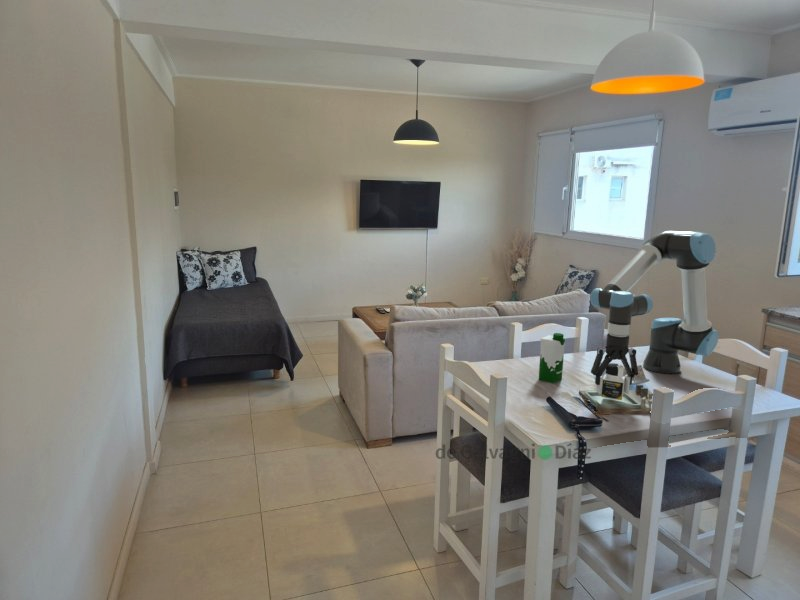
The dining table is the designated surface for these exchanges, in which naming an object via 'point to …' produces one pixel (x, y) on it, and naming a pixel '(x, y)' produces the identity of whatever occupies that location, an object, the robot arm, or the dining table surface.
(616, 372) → the medicine bottle
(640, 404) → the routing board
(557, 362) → the milk carton
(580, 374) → the dining table surface
